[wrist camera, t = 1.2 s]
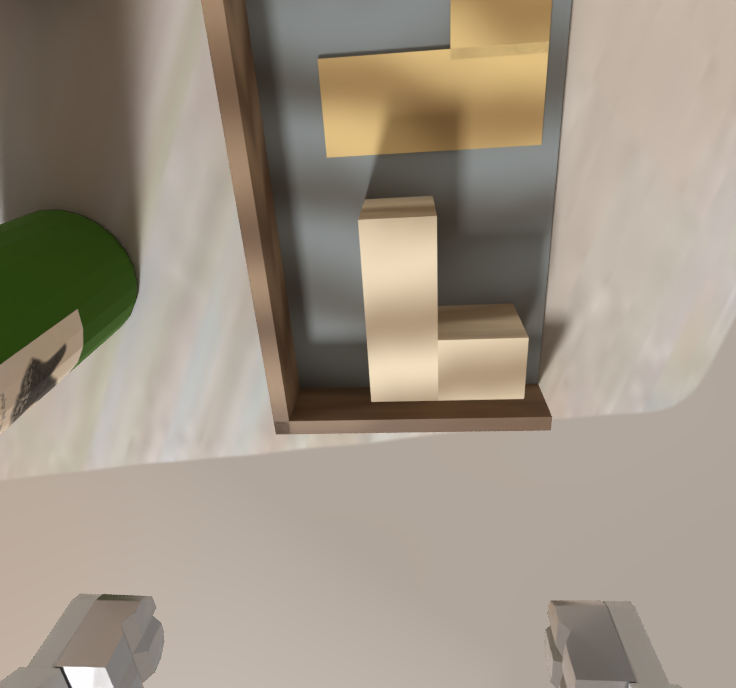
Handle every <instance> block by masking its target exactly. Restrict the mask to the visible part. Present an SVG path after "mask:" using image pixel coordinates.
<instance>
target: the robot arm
mask: <svg viewBox="0 0 736 688" xmlns="http://www.w3.org/2000/svg"><path fill="white" fill-rule="evenodd" d="M155 609H156V605H155V603H154V600H153V598H152V596H133V595H110V594H109V595H108V594H79V595H78V596H77V597H75V598H74V599H73V600H72V601H71V602H70V604H69V605H68V607H67V608H66V610H65V611H64V613H63V614H62V616H61V617H60V619H59V620H58V622H57V623H56V625H55V626H54V628H53V629H52V631H51V632H50V634H49V635H48V637H47V638H46V640H45V641H44V643H43V644H42V646H41V647H40V649H39V650H38V652H37V653H36V655H35V656H34V657H33V659H32V660H31V662H30V664H29V665H28V666H27V667H20V668H18V669H17V670H15V671H14V672H13V673H11V674H10V675H9V676H7V677H6V678H5V679H3V680H2V681H0V688H144V686H143V682H144V681H145V680H147V679H148V678H149V677H150V676H151V675H152V674H153V673H155V671H156V669H157V666H158V664H159V661H160V659H161V654H162V650H163V645H164V631H163V627H162V624H161V622H160V621H158V620H157V619H156V618H155V617H154V616H153V613H154V611H155ZM547 614H548V618H549V622H550V626H549V627H548V628H547V629H546V631H545V655H546V662H547V667H548V672H549V677H550V681H551V683H552V684H553V685H554V686H555V687H556V688H682V687H680V686H679V685H678V684H669V682H668V679H667V677H666V675H665V673H664V670H663V668H662V666H661V664H660V662H659V659H658V657H657V655H656V653H655V650H654V648H653V646H652V644H651V642H650V639H649V637H648V635H647V633H646V631H645V629H644V626H643V624H642V622H641V619H640V618H639V615H638V613H637V611H636V608H635V606H634V605H633V604H632V603H631V602H628V601H603V602H602V601H550V603H549V605H548V612H547Z"/></svg>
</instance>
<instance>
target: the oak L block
mask: <svg viewBox="0 0 736 688" xmlns="http://www.w3.org/2000/svg"><path fill="white" fill-rule="evenodd" d="M358 227H359V241H360V255H361V268H362V282H363V295H364V309H365V322H366V336H367V350H368V363H369V377H370V390H371V402H393V401H443V400H494V399H524V394H525V380H526V367H527V354H528V341H529V337H528V335H527V333H526V331H525V328H524V326H523V324H522V322H521V320H520V318H519V315H518V313H517V311H516V309H515V307H514V305H513V303H505V304H477V305H448V306H438V296H437V214H436V209H435V205H434V200H433V196H418V197H399V198H380V199H365V200H364V203H363V206H362V209H361V212H360V215H359V218H358Z"/></svg>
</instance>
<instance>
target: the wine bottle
mask: <svg viewBox="0 0 736 688" xmlns="http://www.w3.org/2000/svg"><path fill="white" fill-rule="evenodd" d="M136 298H137V279H136V275H135V271H134V267H133V265H132V263H131V261H130V259H129V257H128V255H127V252H126V251H125V249H124V248H123V247H122V246H121V244H120V243H119V242H118V241H117V239H116V238H115V237H114V236H113V235H112V234H111V233H109V232H108V231H107V230H106V229H104V228H103V227H102V226H101V225H100V224H98V223H96V222H94V221H92V220H90V219H88V218H86V217H84V216H82V215H79V214H75V213H71V212H67V211H62V210H41V211H37V212H34V213H31V214H28V215H25V216H22V217H20V218H17V219H14V220H11V221H9V222H6V223H3V224H1V225H0V434H1V433H2V432H4V431H5V430H6V429H7V428H8V427H9V426H10V425H11V424H13V423H14V422H15V421H16V420H17V419H18V418H19V417H20V416H22V415H23V414H24V413H25V412H26V411H27V410H28V409H29V408H31V407H32V406H33V405H34V404H35V403H36V402H37V401H38V400H40V399H41V398H42V397H43V396H44V395H45V394H46V393H47V392H49V391H50V390H51V389H52V388H53V387H54V386H55V385H56V384H58V383H59V382H60V381H61V380H62V379H63V378H64V377H65V376H67V375H68V374H69V373H70V372H71V371H72V370H73V369H74V368H75V367H76V366H77V365H79V364H80V363H81V362H82V361H83V360H84V359H85V358H86V357H88V356H89V355H90V354H91V353H92V352H93V351H94V350H95V349H97V348H98V347H99V346H100V345H101V344H102V343H103V342H104V341H106V340H107V339H108V338H109V337H110V336H111V335H112V334H113V333H115V332H116V331H117V330H118V329H119V328H120V327H121V326H122V325H123V324H124V323H125V321H126V320H127V319H128V318H129V317H130V315H131V313H132V310H133V307H134V304H135V302H136Z"/></svg>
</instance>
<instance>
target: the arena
mask: <svg viewBox="0 0 736 688" xmlns="http://www.w3.org/2000/svg"><path fill="white" fill-rule="evenodd" d="M201 3H202V9H203V15H204V20H205V26H206V32H207V38H208V43H209V49H210V55H211V61H212V67H213V72H214V78H215V84H216V90H217V96H218V101H219V107H220V113H221V119H222V125H223V130H224V136H225V142H226V148H227V153H228V159H229V165H230V171H231V177H232V182H233V188H234V194H235V200H236V206H237V211H238V217H239V223H240V229H241V234H242V240H243V246H244V252H245V258H246V263H247V269H248V275H249V281H250V287H251V292H252V298H253V304H254V310H255V316H256V321H257V327H258V333H259V339H260V344H261V350H262V356H263V362H264V368H265V373H266V379H267V385H268V391H269V397H270V402H271V408H272V414H273V420H274V425H275V431H276V434H331V433H399V432H466V431H532V430H533V431H534V430H551V421H552V416H551V414H550V411H549V409H548V406H547V404H546V402H545V399H544V397H543V395H542V392H541V390H540V387H539V385H538V376H539V365H540V354H541V342H542V331H543V320H544V308H545V297H546V286H547V275H548V263H549V252H550V241H551V229H552V218H553V207H554V195H555V184H556V173H557V161H558V150H559V139H560V127H561V116H562V105H563V93H564V82H565V71H566V60H567V48H568V37H569V26H570V14H571V3H572V0H201ZM418 196H433V200H434V205H435V209H436V214H437V296H438V306H448V305H477V304H505V303H513V305H514V307H515V309H516V311H517V313H518V315H519V318H520V320H521V322H522V324H523V326H524V328H525V331H526V333H527V335H528V337H529V341H528V354H527V367H526V380H525V394H524V399H494V400H443V401H393V402H371V390H370V377H369V363H368V350H367V336H366V322H365V309H364V295H363V282H362V268H361V255H360V241H359V227H358V218H359V215H360V212H361V209H362V206H363V203H364V200H365V199H380V198H399V197H418Z"/></svg>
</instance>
